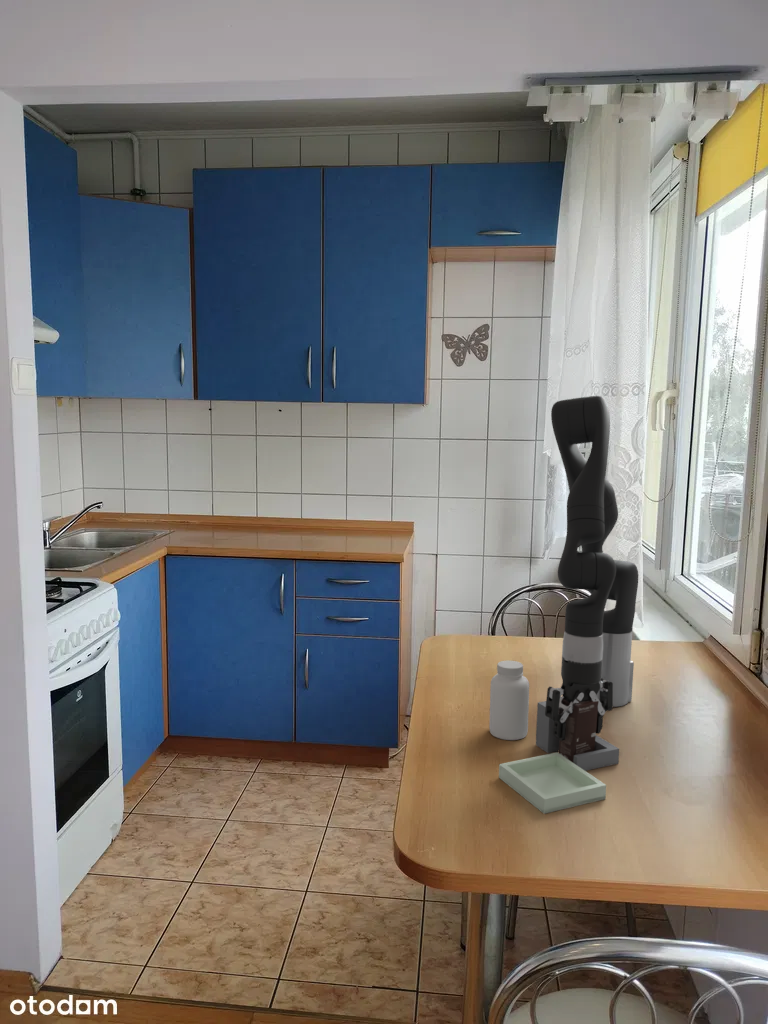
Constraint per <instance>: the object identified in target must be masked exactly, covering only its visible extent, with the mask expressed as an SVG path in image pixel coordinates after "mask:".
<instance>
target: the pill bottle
mask: <svg viewBox="0 0 768 1024" xmlns="http://www.w3.org/2000/svg"><path fill="white" fill-rule="evenodd" d="M496 665H497V667H496V672H497V673H496V674H494V676H493V677H491V680H490V692H489V693H490V694H489V732H490V734H491V735H492V736H493V737H494V738H497V739H499V740H500V739H501V740H503V741H504V740H505V741H506V740H507V741H516V740H522V739H524V738H525V737H526V736H527V735H528V730H529V702H530V682H529V680H528V678H527V677H526V676H524V664H523V663H522V662H519V661H516V660H502V661H498V663H497V664H496Z"/></svg>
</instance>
